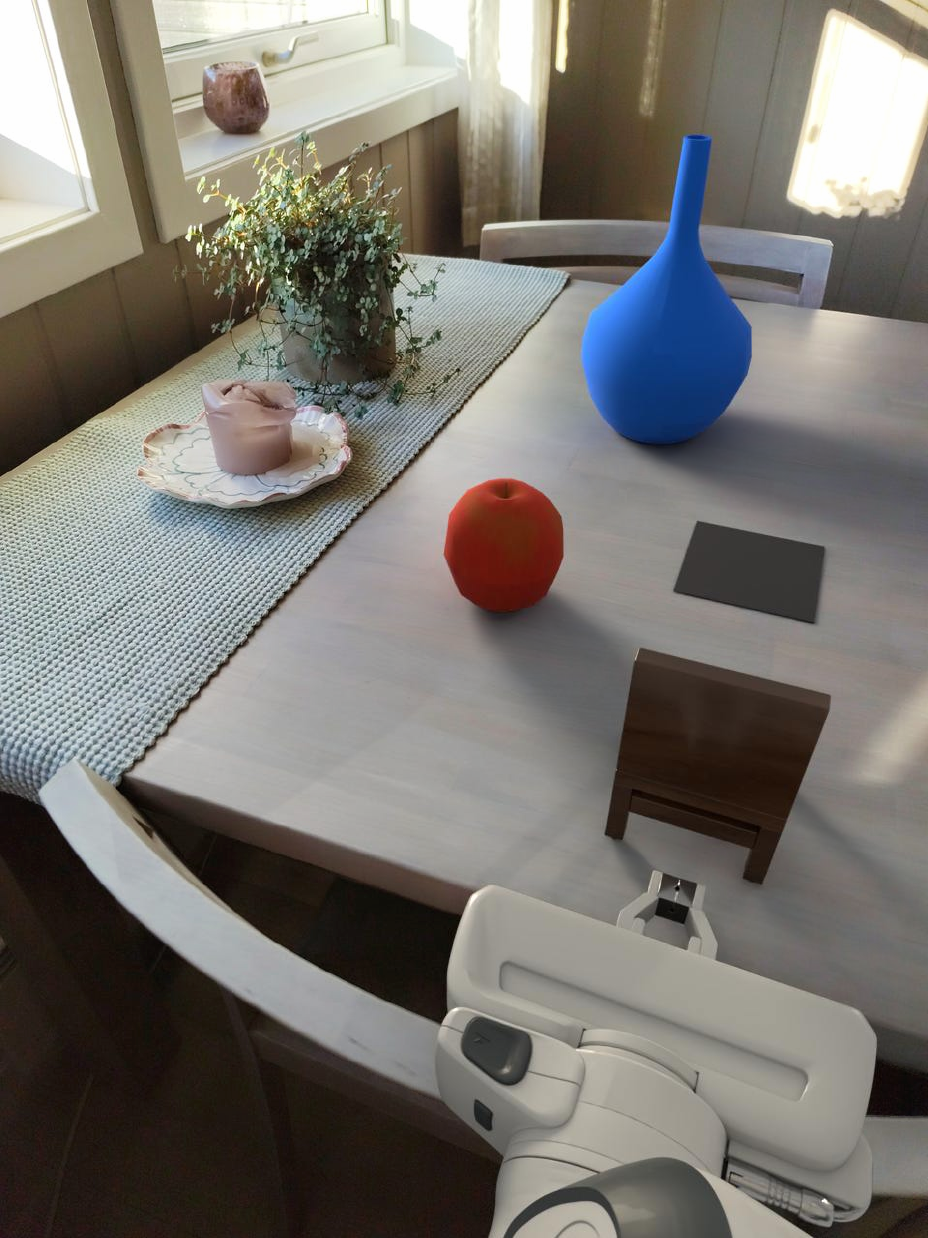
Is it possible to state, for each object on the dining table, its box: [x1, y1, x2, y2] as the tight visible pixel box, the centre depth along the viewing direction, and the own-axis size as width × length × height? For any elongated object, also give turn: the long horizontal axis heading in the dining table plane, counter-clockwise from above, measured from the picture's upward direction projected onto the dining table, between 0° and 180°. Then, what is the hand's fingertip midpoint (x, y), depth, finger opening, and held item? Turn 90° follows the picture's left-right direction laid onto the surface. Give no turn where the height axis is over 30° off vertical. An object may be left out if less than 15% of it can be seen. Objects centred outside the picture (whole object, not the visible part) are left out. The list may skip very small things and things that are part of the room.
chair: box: [604, 646, 832, 885], centre depth 54 cm, size 10×10×16 cm
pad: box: [672, 520, 825, 624], centre depth 79 cm, size 12×12×1 cm
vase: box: [580, 134, 753, 445], centre depth 91 cm, size 18×18×30 cm
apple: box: [443, 477, 565, 613], centre depth 73 cm, size 10×10×12 cm
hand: (678, 883), depth 48 cm, fingers closed
